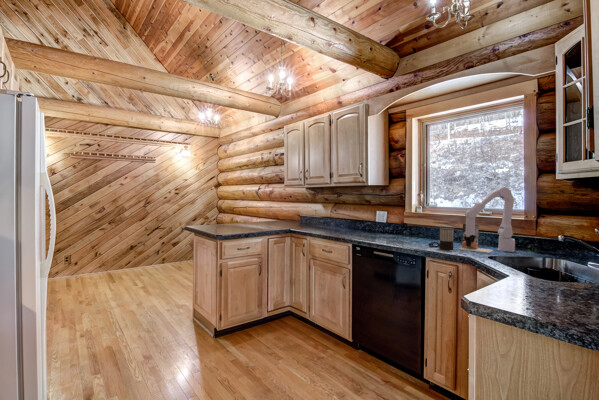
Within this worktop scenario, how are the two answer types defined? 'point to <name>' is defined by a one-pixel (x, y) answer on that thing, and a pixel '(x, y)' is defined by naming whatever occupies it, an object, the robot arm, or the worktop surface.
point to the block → (473, 246)
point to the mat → (478, 249)
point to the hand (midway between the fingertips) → (469, 245)
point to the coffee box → (474, 235)
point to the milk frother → (445, 239)
